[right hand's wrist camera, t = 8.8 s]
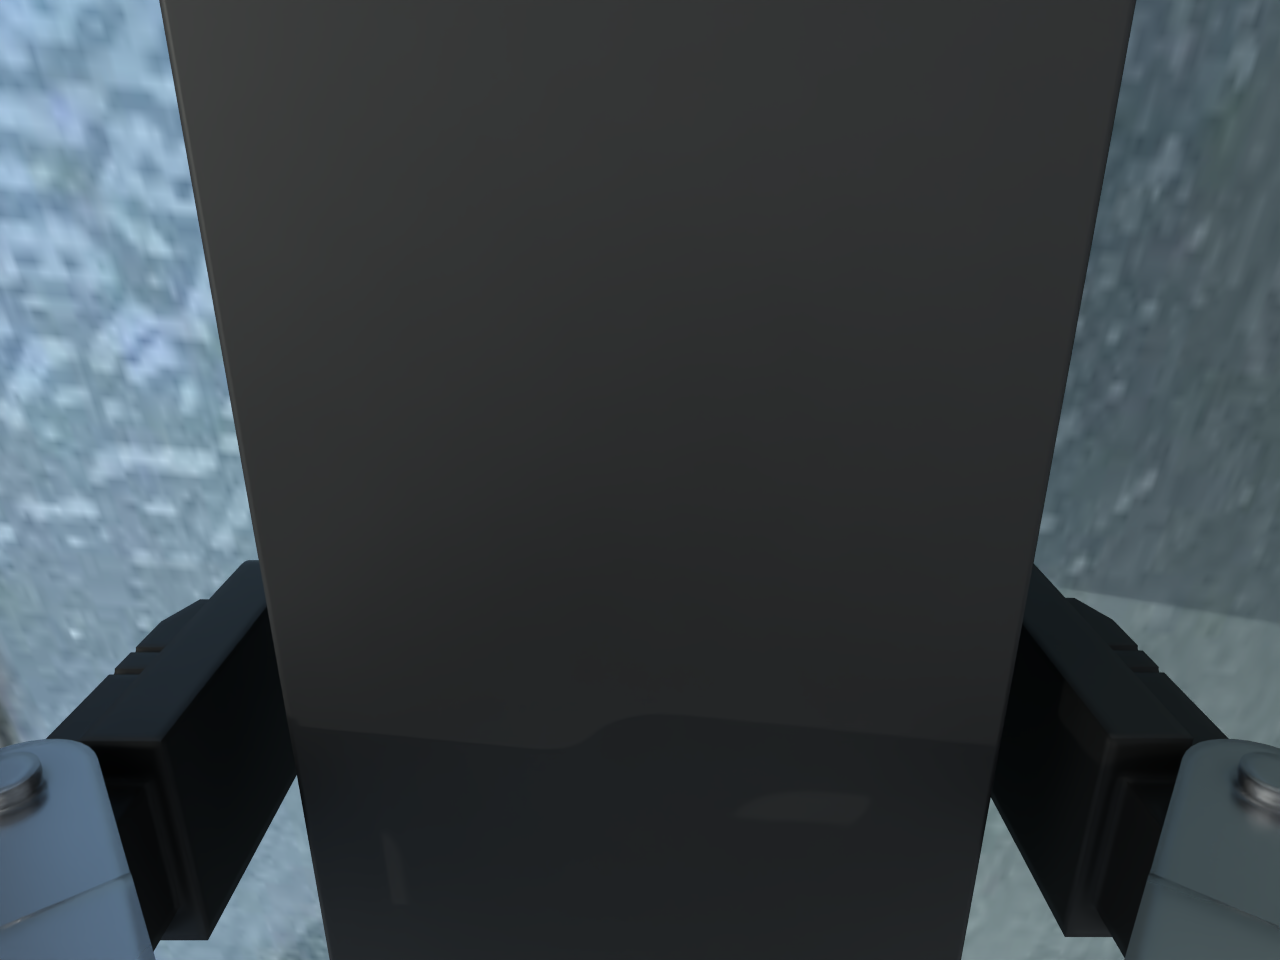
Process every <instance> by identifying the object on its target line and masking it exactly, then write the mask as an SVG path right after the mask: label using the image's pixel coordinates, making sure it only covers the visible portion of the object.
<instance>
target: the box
mask: <svg viewBox="0 0 1280 960" xmlns="http://www.w3.org/2000/svg"><path fill="white" fill-rule="evenodd" d="M159 1H160V7H161V12H162V18H163V24H164V29H165V35H166V41H167V46H168V52H169V57H170V63H171V69H172V74H173V80H174V86H175V91H176V97H177V103H178V108H179V114H180V119H181V125H182V131H183V136H184V142H185V148H186V153H187V159H188V164H189V170H190V176H191V181H192V187H193V193H194V198H195V204H196V209H197V215H198V221H199V226H200V232H201V238H202V243H203V249H204V254H205V260H206V266H207V271H208V277H209V283H210V288H211V294H212V299H213V305H214V311H215V316H216V322H217V328H218V333H219V339H220V345H221V350H222V356H223V361H224V367H225V373H226V378H227V384H228V390H229V395H230V401H231V406H232V412H233V418H234V423H235V429H236V435H237V440H238V446H239V451H240V457H241V463H242V468H243V474H244V480H245V485H246V491H247V496H248V502H249V508H250V513H251V519H252V525H253V530H254V536H255V542H256V547H257V553H258V558H259V564H260V570H261V575H262V581H263V587H264V592H265V598H266V603H267V609H268V615H269V620H270V626H271V632H272V637H273V643H274V648H275V654H276V660H277V665H278V671H279V677H280V682H281V688H282V693H283V699H284V705H285V710H286V716H287V722H288V727H289V733H290V739H291V744H292V750H293V755H294V761H295V767H296V772H297V778H298V784H299V789H300V795H301V800H302V806H303V812H304V817H305V823H306V829H307V834H308V840H309V845H310V851H311V857H312V862H313V868H314V874H315V879H316V885H317V890H318V896H319V902H320V907H321V913H322V919H323V924H324V930H325V936H326V941H327V947H328V952H329V958H330V960H961V957H962V951H963V946H964V940H965V935H966V929H967V924H968V918H969V913H970V907H971V902H972V896H973V891H974V885H975V880H976V874H977V869H978V863H979V858H980V853H981V847H982V842H983V836H984V831H985V825H986V820H987V814H988V809H989V803H990V798H991V792H992V787H993V781H994V776H995V770H996V765H997V759H998V754H999V748H1000V743H1001V738H1002V732H1003V727H1004V721H1005V716H1006V710H1007V705H1008V699H1009V694H1010V688H1011V683H1012V677H1013V672H1014V666H1015V661H1016V655H1017V650H1018V644H1019V639H1020V633H1021V628H1022V623H1023V617H1024V612H1025V606H1026V601H1027V595H1028V590H1029V584H1030V579H1031V573H1032V568H1033V562H1034V557H1035V551H1036V546H1037V540H1038V535H1039V529H1040V524H1041V518H1042V513H1043V508H1044V502H1045V497H1046V491H1047V486H1048V480H1049V475H1050V469H1051V464H1052V458H1053V453H1054V447H1055V442H1056V436H1057V431H1058V425H1059V420H1060V414H1061V409H1062V403H1063V398H1064V393H1065V387H1066V382H1067V376H1068V371H1069V365H1070V360H1071V354H1072V349H1073V343H1074V338H1075V332H1076V327H1077V321H1078V316H1079V310H1080V305H1081V299H1082V294H1083V288H1084V283H1085V278H1086V272H1087V267H1088V261H1089V256H1090V250H1091V245H1092V239H1093V234H1094V228H1095V223H1096V217H1097V212H1098V206H1099V201H1100V195H1101V190H1102V184H1103V179H1104V173H1105V168H1106V163H1107V157H1108V152H1109V146H1110V141H1111V135H1112V130H1113V124H1114V119H1115V113H1116V108H1117V102H1118V97H1119V91H1120V86H1121V80H1122V75H1123V69H1124V64H1125V58H1126V53H1127V48H1128V42H1129V37H1130V31H1131V26H1132V20H1133V15H1134V9H1135V4H1136V0H159Z"/></svg>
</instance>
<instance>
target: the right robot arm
mask: <svg viewBox="0 0 1280 960" xmlns="http://www.w3.org/2000/svg"><path fill="white" fill-rule="evenodd" d="M1158 668H1159V667H1158V666H1157V665H1156V664H1155V663H1154V662H1153V661H1152V660H1151V659H1150V658H1149V657H1148V656H1147V655H1146V653H1145V652H1144V651H1138V645H1137V644H1136V643H1135V642H1134V641H1133V640H1132V639H1131V638H1130V637H1129V636H1128V635H1127V634H1126V633H1125V632H1124V631H1123V630H1122V629H1121V628H1120V627H1119V626H1118V625H1117V624H1116V623H1115V622H1114V621H1113V620H1112V619H1110V618H1109V617H1107V616H1105V615H1103V614H1102V613H1100V612H1098V611H1096V610H1095V609H1093V608H1091V607H1089V606H1088V605H1086V604H1084V603H1082V602H1081V601H1079V600H1077V599H1075V598H1065V597H1064V596H1063V595H1062V594H1061V593H1060V592H1059V591H1058V590H1057V588H1056V587H1055V586H1054V585H1053V584H1052V583H1051V582H1050V581H1049V580H1048V579H1047V578H1046V576H1045V575H1044V574H1043V573H1042V572H1041V571H1040V570H1039V569H1038V568H1037V567H1036V566H1035V565H1034V563H1033V568H1032V573H1031V579H1030V584H1029V590H1028V595H1027V601H1026V606H1025V612H1024V617H1023V623H1022V628H1021V633H1020V639H1019V644H1018V650H1017V655H1016V661H1015V666H1014V672H1013V677H1012V683H1011V688H1010V694H1009V699H1008V705H1007V710H1006V716H1005V721H1004V727H1003V732H1002V738H1001V743H1000V748H999V754H998V759H997V765H996V770H995V776H994V781H993V787H992V792H991V798H992V800H993V802H994V804H995V806H996V808H997V809H998V811H999V813H1000V815H1001V817H1002V819H1003V821H1004V823H1005V825H1006V826H1007V828H1008V830H1009V832H1010V834H1011V836H1012V838H1013V840H1014V842H1015V843H1016V845H1017V847H1018V849H1019V851H1020V853H1021V855H1022V857H1023V859H1024V860H1025V862H1026V864H1027V866H1028V868H1029V870H1030V872H1031V874H1032V876H1033V877H1034V879H1035V881H1036V883H1037V885H1038V887H1039V889H1040V891H1041V892H1042V894H1043V896H1044V898H1045V900H1046V902H1047V904H1048V906H1049V908H1050V909H1051V911H1052V913H1053V915H1054V917H1055V919H1056V921H1057V923H1058V925H1059V926H1060V928H1061V930H1062V932H1063V934H1064V936H1065V937H1113V939H1114V941H1115V942H1116V944H1117V946H1118V947H1119V949H1120V951H1121V953H1122V954H1123V956H1124V958H1125V959H1124V960H1280V748H1276V747H1273V746H1269V745H1266V744H1262V743H1257V742H1252V741H1246V740H1238V739H1228V738H1227V737H1226V736H1225V735H1224V734H1223V733H1222V732H1221V730H1220V729H1219V728H1218V727H1217V726H1216V725H1215V724H1214V723H1213V722H1212V721H1211V720H1210V719H1209V718H1208V717H1207V716H1206V715H1205V714H1204V713H1203V712H1202V711H1201V710H1200V709H1199V708H1198V707H1197V706H1196V705H1195V704H1194V703H1193V702H1192V701H1191V700H1190V699H1189V698H1188V697H1187V696H1186V695H1185V694H1184V692H1183V691H1182V690H1181V689H1180V688H1179V687H1178V686H1177V685H1176V684H1175V683H1174V682H1173V681H1172V680H1171V679H1170V678H1169V677H1168V676H1167V675H1166V674H1165V673H1159V670H1158ZM296 775H297V772H296V767H295V761H294V755H293V750H292V744H291V739H290V733H289V727H288V722H287V716H286V710H285V705H284V699H283V693H282V688H281V682H280V677H279V671H278V665H277V660H276V654H275V648H274V643H273V637H272V632H271V626H270V620H269V615H268V609H267V603H266V598H265V592H264V587H263V581H262V575H261V570H260V564H259V560H248V561H245V562H244V563H243V564H241V565H240V566H239V568H238V569H237V570H236V571H235V572H234V573H233V574H232V575H231V576H230V577H229V578H228V579H227V581H226V582H225V583H224V584H223V585H222V586H221V587H220V588H219V589H218V590H217V591H216V592H215V593H214V595H213V596H212V597H211V598H210V599H200V600H198V601H197V602H195V603H193V604H191V605H190V606H188V607H186V608H184V609H182V610H181V611H179V612H177V613H175V614H174V615H172V616H170V617H168V618H167V619H165V620H163V621H161V622H160V623H159V624H158V625H157V626H156V627H155V628H154V629H153V630H152V631H151V633H150V634H149V635H148V636H147V637H146V638H145V639H144V640H143V641H142V642H141V643H140V644H139V645H138V646H137V647H136V652H131V653H130V654H129V655H128V656H127V657H126V658H125V659H124V660H123V661H122V662H121V663H120V664H119V665H118V666H117V667H116V668H115V673H114V675H108V676H107V677H106V678H105V679H104V680H103V681H102V682H101V683H100V684H99V685H98V686H97V687H96V688H95V689H94V691H93V692H92V693H91V694H90V695H89V696H88V697H87V698H86V699H85V700H84V701H83V702H82V703H81V704H80V705H79V706H78V707H77V708H76V709H75V710H74V711H73V712H72V713H71V714H70V715H69V716H68V717H67V718H66V719H65V720H64V721H63V722H62V723H61V724H60V725H59V726H58V727H57V728H56V729H55V730H54V731H53V732H52V733H51V734H50V735H49V736H48V737H47V738H46V739H42V740H34V741H28V742H23V743H18V744H14V745H11V746H7V747H4V748H0V960H156V959H155V956H154V952H153V951H154V950H155V948H156V946H157V945H158V943H159V941H160V940H208V939H209V937H210V935H211V934H212V932H213V930H214V928H215V926H216V924H217V922H218V921H219V919H220V917H221V915H222V913H223V911H224V909H225V907H226V906H227V904H228V902H229V900H230V898H231V896H232V894H233V893H234V891H235V889H236V887H237V885H238V883H239V881H240V880H241V878H242V876H243V874H244V872H245V870H246V868H247V866H248V865H249V863H250V861H251V859H252V857H253V855H254V853H255V852H256V850H257V848H258V846H259V844H260V842H261V840H262V838H263V837H264V835H265V833H266V831H267V829H268V827H269V825H270V824H271V822H272V820H273V818H274V816H275V814H276V812H277V811H278V809H279V807H280V805H281V803H282V801H283V799H284V797H285V796H286V794H287V792H288V790H289V788H290V786H291V784H292V783H293V781H294V779H295V777H296Z"/></svg>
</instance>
